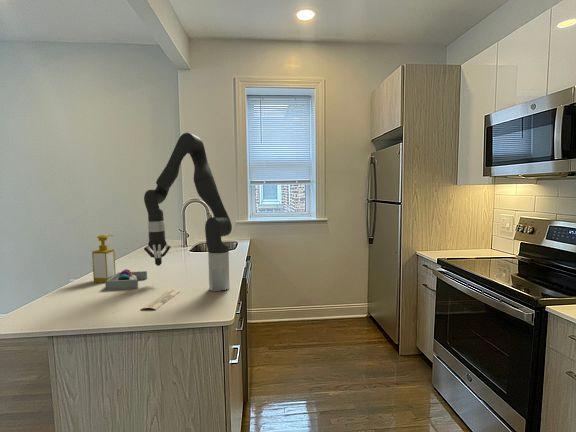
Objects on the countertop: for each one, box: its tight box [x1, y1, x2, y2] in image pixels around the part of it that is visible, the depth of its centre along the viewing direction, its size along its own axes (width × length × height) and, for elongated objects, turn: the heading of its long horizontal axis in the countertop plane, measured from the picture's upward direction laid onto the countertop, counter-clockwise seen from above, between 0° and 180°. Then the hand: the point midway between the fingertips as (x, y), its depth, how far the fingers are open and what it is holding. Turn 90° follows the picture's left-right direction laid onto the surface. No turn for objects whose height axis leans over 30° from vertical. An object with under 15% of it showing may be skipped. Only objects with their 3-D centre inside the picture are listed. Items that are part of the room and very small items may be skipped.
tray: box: [104, 270, 148, 291], centre depth 170 cm, size 18×14×4 cm
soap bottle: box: [91, 234, 117, 284], centre depth 179 cm, size 7×13×24 cm, turn 174°
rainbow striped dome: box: [116, 268, 137, 280], centre depth 170 cm, size 8×10×7 cm
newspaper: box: [140, 289, 180, 311], centre depth 144 cm, size 24×7×2 cm, turn 176°
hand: (158, 265), depth 171 cm, fingers closed
